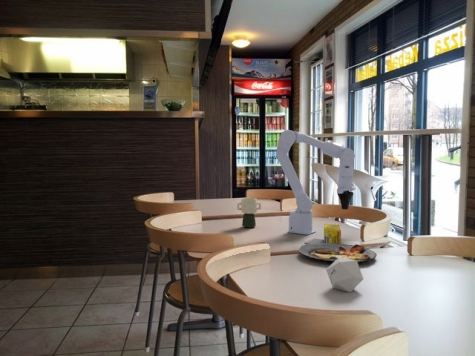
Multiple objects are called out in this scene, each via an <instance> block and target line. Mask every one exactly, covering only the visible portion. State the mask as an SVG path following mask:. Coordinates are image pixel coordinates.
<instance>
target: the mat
mask: <svg viewBox="0 0 475 356" xmlns="http://www.w3.org/2000/svg"><path fill="white" fill-rule="evenodd" d="M315 243H324V238H323V239H321V238H316V237H315V238H312V239H311V240H308V241H305V242H304V245H306V244H315Z"/></svg>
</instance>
